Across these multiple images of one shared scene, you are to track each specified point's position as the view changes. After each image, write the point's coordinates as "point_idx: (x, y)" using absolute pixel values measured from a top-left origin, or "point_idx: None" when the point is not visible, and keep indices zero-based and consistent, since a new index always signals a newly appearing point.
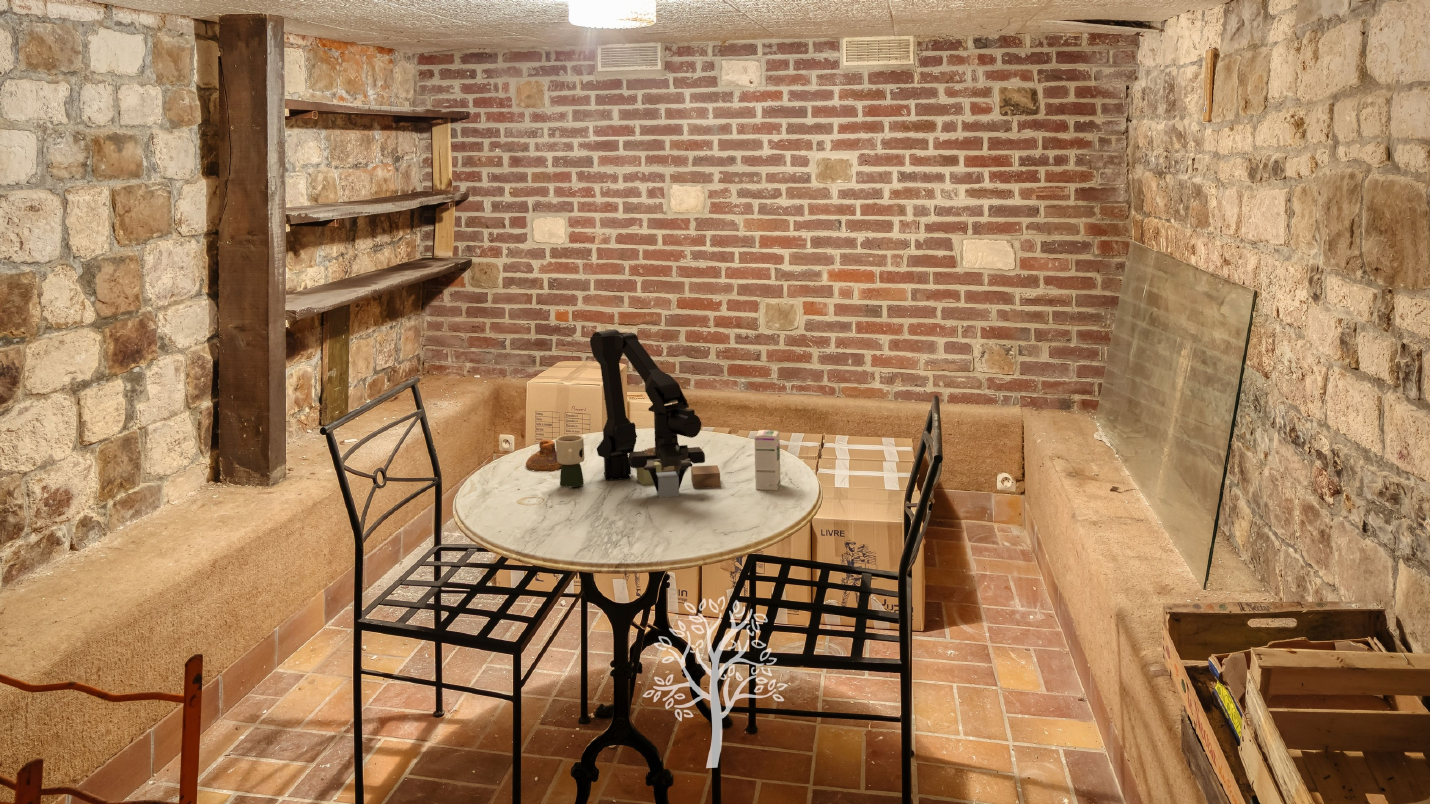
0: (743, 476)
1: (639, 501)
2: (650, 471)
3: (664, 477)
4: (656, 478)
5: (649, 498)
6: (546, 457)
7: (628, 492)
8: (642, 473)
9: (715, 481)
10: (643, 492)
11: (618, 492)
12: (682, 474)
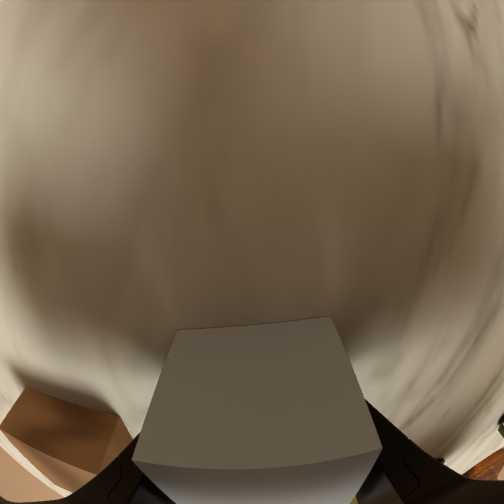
0: None
1: (464, 250)
2: (481, 487)
3: (305, 474)
4: (382, 457)
5: (399, 305)
6: (491, 478)
7: (449, 388)
8: None
9: (27, 409)
10: (393, 396)
11: (476, 382)
12: (108, 478)
